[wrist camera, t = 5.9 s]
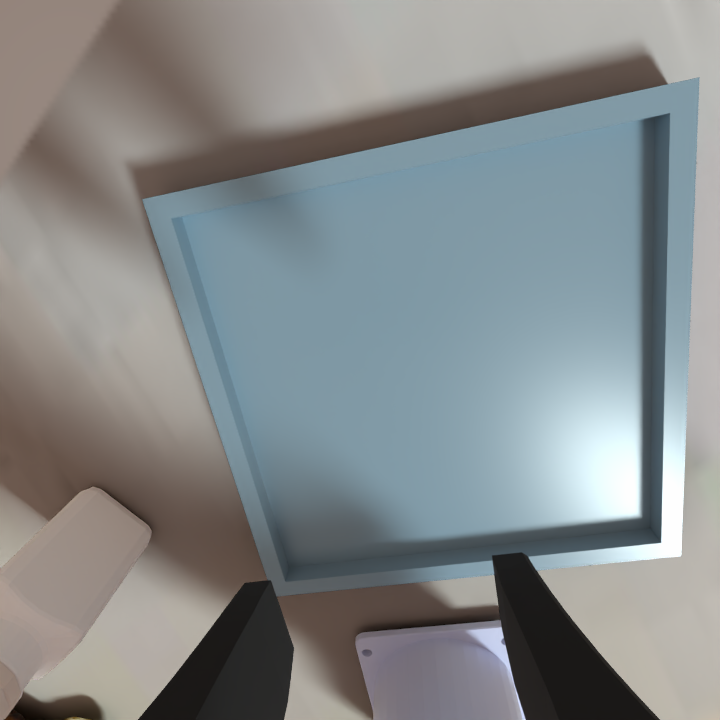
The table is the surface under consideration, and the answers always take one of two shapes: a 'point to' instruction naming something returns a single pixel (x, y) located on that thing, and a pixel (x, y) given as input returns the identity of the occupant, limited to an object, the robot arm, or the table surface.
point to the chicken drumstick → (16, 718)
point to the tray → (452, 343)
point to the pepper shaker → (62, 586)
